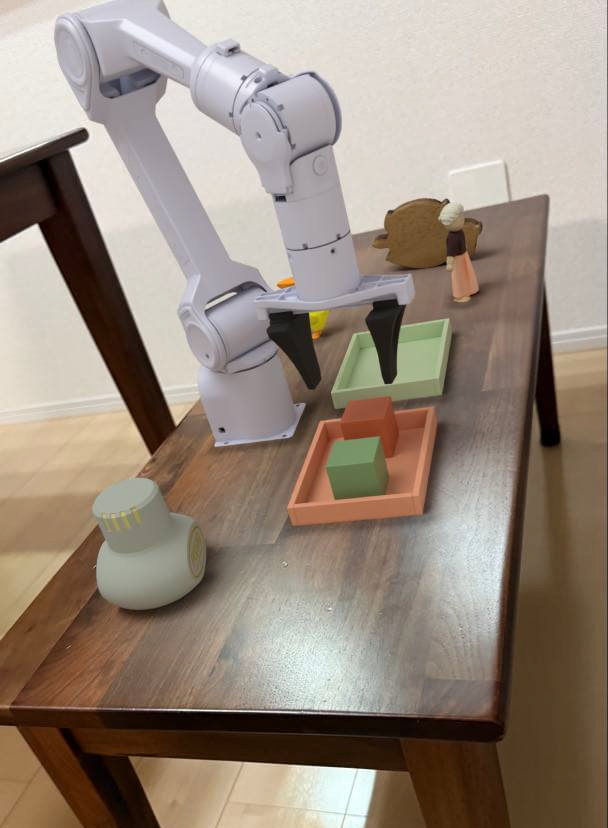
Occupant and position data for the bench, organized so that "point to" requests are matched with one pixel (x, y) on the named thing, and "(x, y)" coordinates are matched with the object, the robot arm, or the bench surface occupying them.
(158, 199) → the robot arm
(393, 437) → the terracotta block
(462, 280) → the grandmother figurine
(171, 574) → the air freshener
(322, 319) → the toy figure
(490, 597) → the bench surface
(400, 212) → the wooden carving
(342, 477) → the sage block
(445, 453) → the bench surface
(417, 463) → the terracotta tray
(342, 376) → the sage tray
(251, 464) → the bench surface
